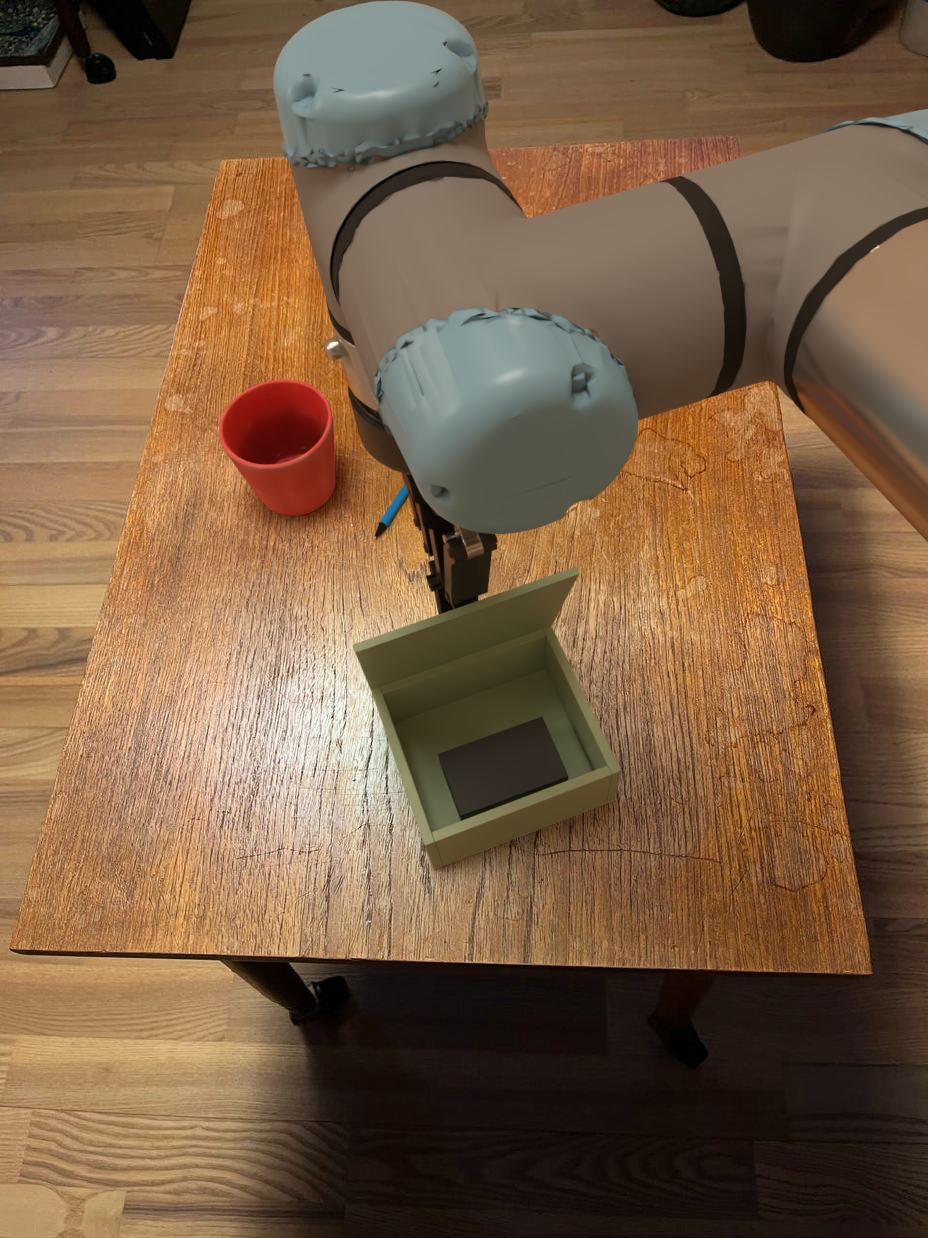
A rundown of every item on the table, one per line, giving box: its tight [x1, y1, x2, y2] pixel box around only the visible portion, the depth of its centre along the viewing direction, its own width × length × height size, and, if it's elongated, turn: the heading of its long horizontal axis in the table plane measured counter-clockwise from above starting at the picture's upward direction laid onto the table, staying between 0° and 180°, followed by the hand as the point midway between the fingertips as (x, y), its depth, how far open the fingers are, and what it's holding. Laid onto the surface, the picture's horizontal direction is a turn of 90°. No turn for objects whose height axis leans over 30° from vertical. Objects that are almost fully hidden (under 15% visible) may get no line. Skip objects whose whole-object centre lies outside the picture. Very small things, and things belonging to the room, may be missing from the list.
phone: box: [438, 717, 568, 821], centre depth 73 cm, size 6×9×3 cm, turn 110°
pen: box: [373, 483, 409, 540], centre depth 92 cm, size 1×19×1 cm, turn 154°
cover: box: [352, 566, 580, 691], centre depth 66 cm, size 14×16×1 cm
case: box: [370, 625, 622, 871], centre depth 73 cm, size 14×16×7 cm
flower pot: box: [218, 378, 336, 517], centre depth 88 cm, size 11×11×10 cm
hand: (459, 614), depth 65 cm, fingers closed
